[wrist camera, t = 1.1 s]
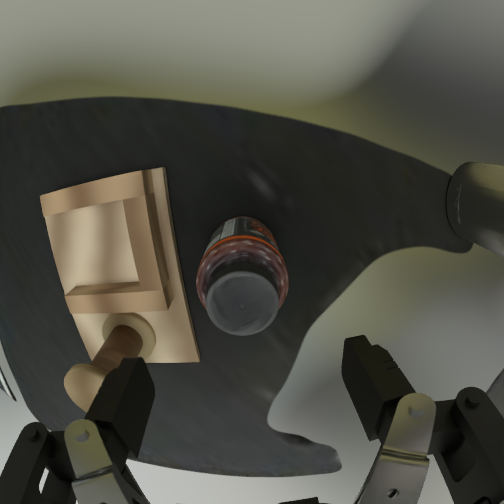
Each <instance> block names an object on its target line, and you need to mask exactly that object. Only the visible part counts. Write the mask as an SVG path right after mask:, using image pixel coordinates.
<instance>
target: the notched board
mask: <svg viewBox="0 0 504 504" xmlns="http://www.w3.org/2000/svg"><path fill="white" fill-rule="evenodd" d="M40 199H41V205H42V211H43V216H44V217H45V219H46V224H47V229H48V234H49V238H50V242H51V247H52V251H53V255H54V258H55V262H56V266H57V269H58V273H59V276H60V279H61V283H62V286H63V289H64V292H65V299H66V302H67V305H68V308H69V310H70V313H71V314H72V315H73V317H74V320H75V323H76V325H77V328H78V330H79V332H80V335H81V337H82V340H83V342H84V344H85V347H86V349H87V351H88V353H89V355H90V358H91V360H93V359H94V357H95V356H96V354H97V353H98V351H99V350H100V348H101V347H102V345H103V343H104V342H105V341H104V339H103V335H102V326H103V323H104V321H105V320H106V319H107V317H108V316H109V315H110V314H111V313H129V312H135V313H137V314H139V315H141V316H142V317H143V318H145V319H146V320H147V321H148V322H149V323H150V325H151V326H152V328H153V330H154V332H155V335H156V344H155V347H154V349H153V352H152V354H151V355H150V356H149V357H148V358H147V359H145V360H144V361H145V363H178V362H199V361H200V353H199V349H198V345H197V341H196V336H195V332H194V328H193V324H192V319H191V315H190V310H189V306H188V301H187V296H186V292H185V287H184V282H183V277H182V272H181V266H180V261H179V256H178V250H177V244H176V238H175V232H174V226H173V220H172V213H171V207H170V200H169V193H168V185H167V177H166V169H165V167H162V168H156V169H151V170H141V171H136V172H131V173H126V174H122V175H117V176H113V177H108V178H104V179H100V180H96V181H91V182H88V183H84V184H80V185H76V186H72V187H69V188H65V189H62V190H58V191H55V192H51V193H48V194H45V195H41V196H40Z"/></svg>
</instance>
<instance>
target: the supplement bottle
mask: <svg viewBox="0 0 504 504" xmlns="http://www.w3.org/2000/svg"><path fill="white" fill-rule="evenodd" d="M196 287H197V293H198V296H199V298H200V300H201V302H202V304H203V305H204V307H205V308H206V309H207V313H208V315H209V317H210V319H211V320H212V322H213V323H214V324H215V325H216V326H217V327H218V328H219V329H221V330H223V331H225V332H227V333H229V334H234V335H240V336H245V335H252V334H256V333H258V332H260V331H262V330H264V329H265V328H267V327H268V326H269V325H270V324H271V323H272V322H273V320H274V319H275V317H276V315H277V312H278V309H279V308H280V307H281V305H282V304H283V302H284V300H285V298H286V295H287V292H288V287H289V279H288V271H287V268H286V265H285V262H284V259H283V257H282V255H281V252H280V251H279V248H278V245H277V243H276V241H275V239H274V236H273V234H272V233H271V231H270V230H269V228H267V226H266V225H264V224H263V223H262V222H260V221H258V220H256V219H254V218H251V217H245V216H240V217H234V218H231V219H228V220H226V221H225V222H223V223H222V224H221V225H219V226H218V228H217V229H216V230H215V232H214V233H213V235H212V237H211V239H210V241H209V244H208V246H207V249H206V251H205V253H204V256H203V258H202V260H201V263H200V265H199V268H198V272H197V278H196Z"/></svg>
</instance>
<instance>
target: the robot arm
mask: <svg viewBox="0 0 504 504" xmlns="http://www.w3.org/2000/svg"><path fill="white" fill-rule="evenodd" d="M446 202H447V214H448V219H449V222H450V225H451V227H452V228H453V230H454V231H455V233H456V234H457V235H459V236H460V237H462V238H464V239H466V240H469V241H471V242H473V243H475V244H477V245H479V246H481V247H483V248H486V249H487V250H490V251H492V252H494V253H496V254H498V255H500V256H502V257H504V166H500V165H493V164H485V163H475V162H467V163H464V164H462V165H461V166H460V167H459V168H458V169H457V170H456V171H455V172H454V174H453V176H452V178H451V181H450V183H449V187H448V191H447V201H446ZM342 376H343V381H344V383H345V385H346V388H347V390H348V392H349V395H350V397H351V399H352V402H353V404H354V406H355V409H356V411H357V413H358V415H359V418H360V420H361V423H362V425H363V427H364V430H365V432H366V434H367V437H368V439H369V441H372V440H375V439H379V440H380V442H381V446H380V448H379V451H378V453H377V456H376V458H375V461H374V463H373V465H372V467H371V469H370V472H369V474H368V476H367V478H366V480H365V482H364V484H363V486H362V488H361V490H360V492H359V494H358V495H357V497H356V499H355V501H354V503H353V504H417V502H418V499H419V497H420V493H421V491H422V488H423V484H424V481H425V478H426V474H427V471H428V467H429V459H428V458H427V455H430V454H433V455H434V457H435V459H436V462H437V464H438V466H439V468H440V471H441V473H442V475H443V477H444V480H445V482H446V485H447V487H448V489H449V492H450V494H451V496H452V499H453V501H454V504H504V418H503V417H502V415H501V414H500V412H499V411H498V410H497V408H496V407H495V405H494V404H493V403H492V401H491V400H490V398H489V397H488V396H487V394H486V393H485V392H484V391H483V390H481V389H479V388H476V387H467V388H464V389H462V390H461V391H460V392H459V393H458V395H457V397H456V399H453V400H446V401H433V399H432V398H430V397H429V396H427V395H425V394H422V393H416V392H415V390H414V389H413V387H412V386H411V384H410V383H409V381H408V380H407V378H406V377H405V376H404V374H403V373H402V371H401V370H400V368H398V365H397V364H396V362H395V361H393V358H392V357H391V355H390V354H389V352H388V351H387V350H385V349H384V348H382V347H380V346H379V345H373V346H372V345H371V344H370V343H369V341H368V339H367V338H366V336H365V335H360V336H355V337H350V338H346V339H345V341H344V350H343V359H342ZM154 398H155V387H154V383H153V381H152V378H151V376H150V373H149V371H148V368H147V366H146V363H145V361H144V359H143V358H142V357H124V358H123V359H122V361H121V363H120V365H119V367H118V368H114V369H113V370H112V371H110V372H109V373H108V374H107V375H106V376H105V378H104V380H103V382H102V384H101V386H100V388H99V390H98V394H96V396H95V398H94V400H93V402H92V404H91V406H90V408H89V410H88V412H87V414H86V416H85V418H84V419H80V420H76V421H74V422H72V423H71V424H70V425H69V426H68V427H67V428H66V430H65V431H52V432H49V430H48V429H47V428H46V427H45V425H43V424H42V423H40V422H33V423H30V424H28V425H26V426H25V427H24V428H23V430H22V431H21V433H20V435H19V437H18V439H17V441H16V443H15V445H14V447H13V449H12V452H11V453H10V456H9V458H8V460H7V462H6V464H5V467H4V469H3V471H2V474H1V476H0V504H75V503H76V500H77V501H78V504H150V502H149V501H148V500H147V499H146V497H145V495H144V494H143V492H142V491H141V489H140V487H139V485H138V484H137V482H136V481H135V479H134V477H133V475H132V474H131V472H130V470H129V468H128V466H127V465H126V459H127V457H130V458H137V459H138V455H139V451H140V447H141V444H142V440H143V436H144V433H145V429H146V426H147V422H148V419H149V415H150V412H151V408H152V405H153V402H154ZM45 468H46V469H47V470H49V473H48V476H47V478H46V481H45V484H44V487H43V490H42V493H40V491H39V483H40V480H41V477H42V475H43V472H44V469H45ZM279 504H327V503H319V501H318V497H314V498H308V499H302V500H296V501H289V502H282V503H279Z"/></svg>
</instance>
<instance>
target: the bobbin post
mask: <svg viewBox="0 0 504 504" xmlns="http://www.w3.org/2000/svg"><path fill="white" fill-rule="evenodd" d="M102 335H103V339H104V341H105V342H104V343H103V345H102V347H101V348H100V350H99V351H98V353H97V354H96V356H95V357H94V359H93V360H92V362H91V364H90V365H89V364H76V365H74V366H73V367H71V369H70V370H69V372H68V373H67V375H66V376H65V378H64V386H65V389H66V391H67V393H68V395H69V396H70V398H71V399H72V400H73V401H74V402H75V403H76V404H77V405H78V406H79V407H80V408H81V409H82V410H84V411H85V412H88V410H89V408H90V406H91V404H92V402H93V400H94V398H95V396H96V394H98V390H99V388H100V386H101V384H102V382H103V380H104V378H105V376H106V375H107V374H108V373H109V372H110V371H112V370H113V369H114V368H118V367H119V365H120V363H121V361H122V359H123V358H124V357H142V358H143V359H144V360H145V359H147V358H148V357H149V356H150V355H151V354H152V352H153V349H154V347H155V344H156V335H155V332H154V330H153V328H152V326H151V325H150V323H149V322H148V321H147V320H146V319H145V318H143V317H142V316H141V315H139V314H137V313H135V312H129V313H111V314H110V315H109V316H108V317H107V319H106V320H105V321H104V323H103V326H102Z"/></svg>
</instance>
